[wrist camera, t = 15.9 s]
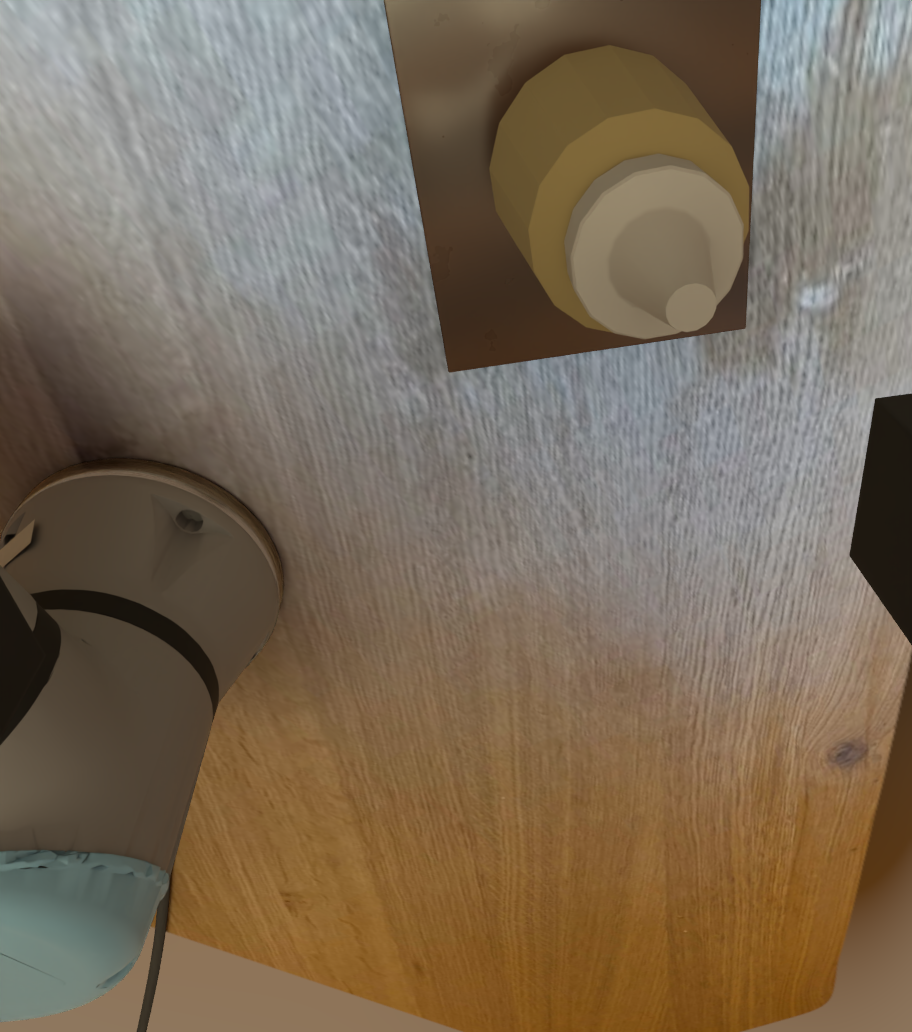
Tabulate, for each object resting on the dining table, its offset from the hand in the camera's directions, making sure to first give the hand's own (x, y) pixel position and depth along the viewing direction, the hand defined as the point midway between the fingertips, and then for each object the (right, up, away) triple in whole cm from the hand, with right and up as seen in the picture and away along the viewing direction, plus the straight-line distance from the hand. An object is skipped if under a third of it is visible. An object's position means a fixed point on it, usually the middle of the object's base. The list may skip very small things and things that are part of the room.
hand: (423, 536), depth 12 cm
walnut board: (+6, +16, +22) cm, 28 cm away
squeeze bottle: (+6, +15, +22) cm, 27 cm away
